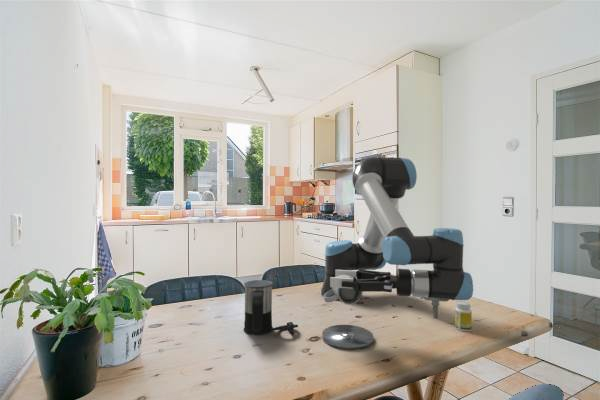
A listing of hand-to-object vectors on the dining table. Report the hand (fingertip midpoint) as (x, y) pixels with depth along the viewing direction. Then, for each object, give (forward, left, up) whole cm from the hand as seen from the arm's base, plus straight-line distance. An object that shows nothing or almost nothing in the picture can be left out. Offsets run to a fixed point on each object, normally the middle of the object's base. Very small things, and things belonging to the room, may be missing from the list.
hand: (333, 277), depth 97 cm
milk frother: (-14, -14, -18) cm, 27 cm away
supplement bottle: (+16, +40, -18) cm, 47 cm away
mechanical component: (+5, +41, -18) cm, 45 cm away
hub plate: (+3, +3, -18) cm, 18 cm away
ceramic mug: (+3, +1, -7) cm, 7 cm away
